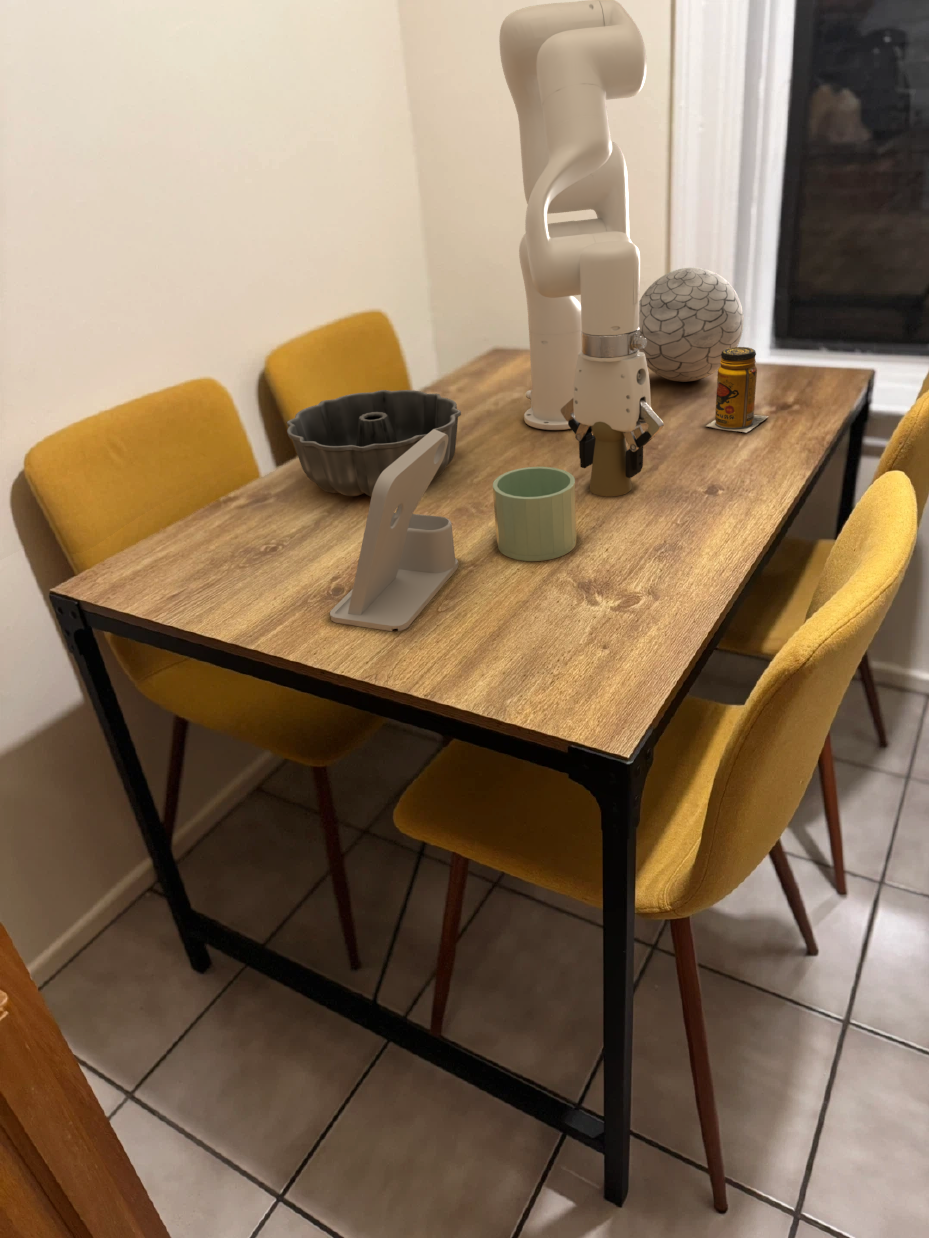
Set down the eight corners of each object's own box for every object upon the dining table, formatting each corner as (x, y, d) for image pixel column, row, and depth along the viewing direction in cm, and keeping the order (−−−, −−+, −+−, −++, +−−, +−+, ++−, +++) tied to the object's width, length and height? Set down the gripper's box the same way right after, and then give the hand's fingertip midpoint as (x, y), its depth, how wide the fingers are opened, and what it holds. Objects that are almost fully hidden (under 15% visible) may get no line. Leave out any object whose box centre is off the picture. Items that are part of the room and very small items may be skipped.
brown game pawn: (631, 496, 125) (631, 421, 119) (587, 496, 126) (586, 421, 121) (632, 479, 130) (633, 406, 124) (591, 480, 131) (590, 407, 126)
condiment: (704, 427, 146) (708, 353, 140) (728, 412, 151) (732, 340, 145) (746, 434, 142) (752, 358, 136) (769, 418, 147) (775, 344, 141)
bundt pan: (492, 453, 145) (487, 392, 139) (417, 520, 125) (409, 452, 119) (353, 441, 155) (344, 385, 150) (264, 502, 135) (250, 439, 130)
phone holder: (393, 553, 116) (374, 420, 107) (464, 562, 112) (451, 424, 103) (326, 621, 103) (297, 475, 93) (404, 633, 99) (383, 482, 90)
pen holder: (483, 540, 117) (477, 480, 113) (547, 519, 121) (544, 460, 117) (524, 569, 109) (521, 505, 105) (592, 545, 113) (591, 483, 109)
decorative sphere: (673, 359, 181) (676, 255, 171) (760, 374, 168) (769, 261, 157) (610, 385, 170) (610, 275, 160) (698, 402, 157) (704, 283, 147)
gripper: (683, 342, 115) (678, 472, 124) (572, 331, 125) (575, 451, 134) (653, 357, 110) (650, 490, 119) (540, 344, 120) (545, 467, 130)
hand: (610, 468), depth 127 cm, fingers open, 6 cm apart
